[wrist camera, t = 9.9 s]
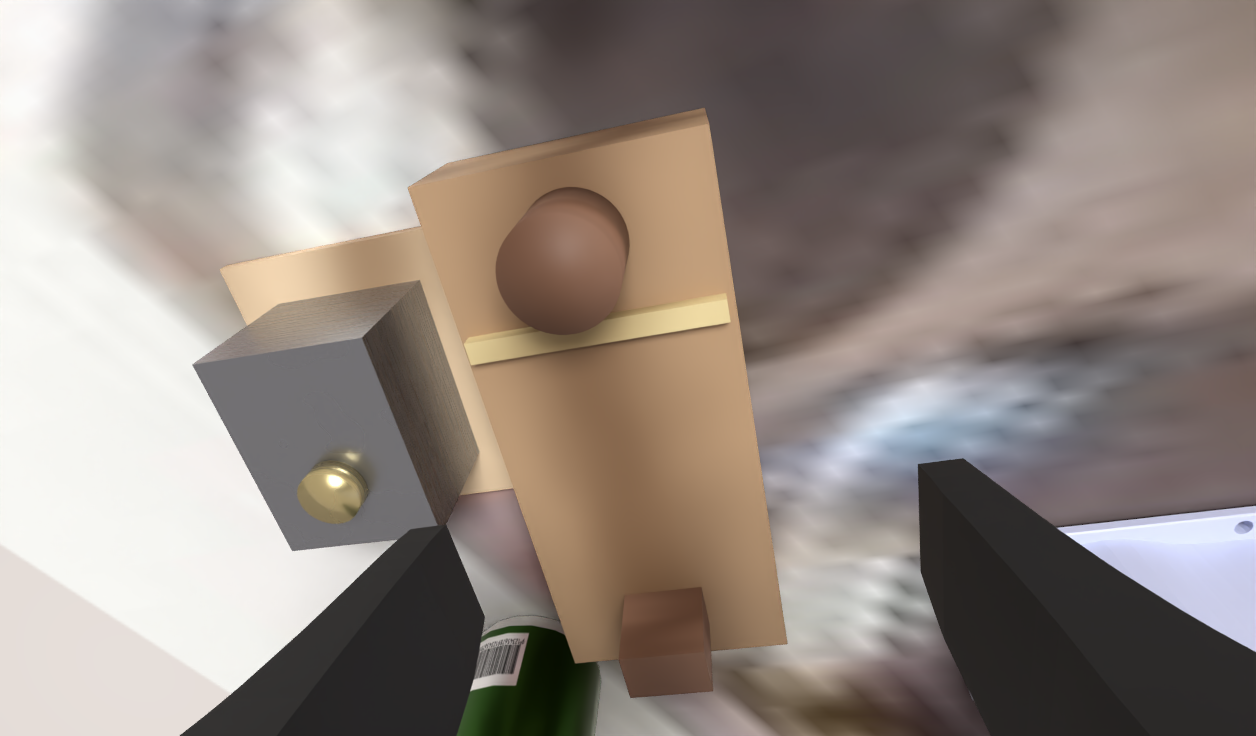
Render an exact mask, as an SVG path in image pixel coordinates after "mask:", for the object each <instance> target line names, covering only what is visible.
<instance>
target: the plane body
mask: <svg viewBox="0 0 1256 736" xmlns="http://www.w3.org/2000/svg"><path fill="white" fill-rule="evenodd" d="M408 190H409V193H410V196H411V199H412V202H413V205H414V207H415V210H416V213H417V216H418V219H419V222H420V224H421V227H422V230H423V233H424V236H425V239H426V241H427V244H428V247H429V250H430V253H431V256H432V258H433V261H434V264H435V267H436V270H437V273H438V276H439V278H440V281H441V284H442V287H443V290H444V293H445V295H446V298H447V301H448V304H449V307H450V310H451V312H452V315H453V318H454V321H455V324H456V327H457V329H458V332H459V335H460V338H461V341H462V344H463V346H464V349H465V352H466V355H467V358H468V361H469V363H470V366H471V369H472V372H473V375H474V378H475V380H476V383H477V386H478V389H479V392H480V395H481V397H482V400H483V403H484V406H485V409H486V412H487V415H488V417H489V420H490V423H491V426H492V429H493V432H494V434H495V437H496V440H497V443H498V446H499V449H500V451H501V454H502V457H503V460H504V463H505V466H506V468H507V471H508V474H509V477H510V480H511V483H512V485H513V488H514V491H515V494H516V497H517V500H518V502H519V505H520V508H521V511H522V514H523V517H524V519H525V522H526V525H527V528H528V531H529V534H530V537H531V539H532V542H533V545H534V548H535V551H536V554H537V556H538V559H539V562H540V565H541V568H542V571H543V573H544V576H545V579H546V582H547V585H548V588H549V590H550V593H551V596H552V599H553V602H554V605H555V607H556V610H557V613H558V616H559V619H560V622H561V624H562V627H563V630H564V633H565V636H566V639H567V641H568V644H569V647H570V650H571V653H572V656H573V659H574V661H575V663H585V662H596V661H607V660H618V659H619V663H620V666H621V669H622V672H623V676H624V679H625V682H626V685H627V689H628V692H629V695H630V698H636V697H648V696H661V695H673V694H685V693H697V692H710V691H713V681H712V661H711V651H717V650H728V649H739V648H750V647H761V646H772V645H783V644H787V637H786V631H785V624H784V617H783V611H782V604H781V598H780V591H779V584H778V578H777V571H776V564H775V558H774V551H773V545H772V538H771V531H770V525H769V518H768V511H767V505H766V498H765V491H764V485H763V478H762V472H761V465H760V458H759V452H758V445H757V438H756V432H755V425H754V419H753V412H752V405H751V399H750V392H749V385H748V379H747V372H746V365H745V359H744V352H743V346H742V339H741V332H740V326H739V319H738V312H737V306H736V299H735V293H734V286H733V279H732V273H731V266H730V259H729V253H728V246H727V240H726V233H725V226H724V220H723V213H722V206H721V200H720V193H719V186H718V180H717V173H716V167H715V160H714V153H713V147H712V140H711V133H710V127H709V122H708V118H707V115H706V111H705V108H701V109H696V110H692V111H687V112H683V113H678V114H673V115H669V116H664V117H659V118H655V119H650V120H646V121H641V122H636V123H632V124H627V125H622V126H618V127H613V128H609V129H604V130H599V131H595V132H590V133H585V134H581V135H576V136H571V137H567V138H562V139H558V140H553V141H548V142H544V143H539V144H534V145H530V146H525V147H521V148H516V149H511V150H507V151H502V152H497V153H493V154H488V155H484V156H479V157H474V158H470V159H465V160H460V161H456V162H451V163H447V164H445V165H444V166H442V167H440V168H439V169H437V170H436V171H434V172H432V173H431V174H429V175H427V176H426V177H424V178H422V179H421V180H419V181H418V182H416V183H414V184H413V185H411V186H409V187H408Z"/></svg>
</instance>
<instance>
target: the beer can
mask: <svg viewBox="0 0 1256 736" xmlns="http://www.w3.org/2000/svg"><path fill="white" fill-rule="evenodd" d="M600 688H601V676H600V670H599V665H598V663H597V661H596V662H585V663H575V661H574V659H573V656H572V653H571V650H570V647H569V644H568V641H567V639H566V636H565V633H564V630H563V627H562V624H561V622H559V621H557V620H555V619H550V618H545V617H540V616H515V617H512V618H508V619H504V620H501V621H499V622H497V623H496V624H494V625H493V626H491V627H490V628H488V629H487V630H486V631H485V632H484V633H483V634H482V638H481V644H480V650H479V655H478V660H477V665H476V670H475V675H474V680H473V684H472V687H471V690H470V694H469V697H468V700H467V704H466V707H465V710H464V713H463V717H462V720H461V723H460V726H459V729H458V733H457V736H595V731H596V722H597V714H598V705H599V697H600Z"/></svg>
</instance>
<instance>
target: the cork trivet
mask: <svg viewBox="0 0 1256 736" xmlns="http://www.w3.org/2000/svg"><path fill="white" fill-rule="evenodd" d="M220 272H221V274H222V276H223V278H224V280H225V282H226V284H227V286H228V288H229V290H230V292H231V294H232V296H233V298H234V300H235V302H236V304H237V306H238V308H239V310H240V312H241V314H242V316H243V318H244V320H245V322H246V324H247V326H248V325H249V324H251V323H252V322H253V321H255V320H256V319H258V318H259V317H261V316H262V315H263V314H265V313H266V312H268V311H269V310H270V309H272V308H273V307H275V306H276V305H278V304H281V303H287V302H293V301H298V300H304V299H310V298H316V297H322V296H328V295H334V294H340V293H346V292H351V291H357V290H363V289H369V288H375V287H381V286H387V285H393V284H398V283H404V282H410V281H416V280H420V282H421V285H422V288H423V291H424V293H425V296H426V299H427V302H428V305H429V308H430V311H431V314H432V316H433V319H434V322H435V325H436V328H437V331H438V334H439V337H440V340H441V342H442V345H443V348H444V351H445V354H446V357H447V360H448V363H449V365H450V368H451V371H452V374H453V377H454V380H455V383H456V386H457V388H458V391H459V394H460V397H461V400H462V403H463V406H464V409H465V411H466V414H467V417H468V420H469V423H470V426H471V429H472V432H473V434H474V437H475V440H476V443H477V446H478V449H479V454H478V456H477V459H476V461H475V463H474V465H473V467H472V469H471V471H470V474H469V476H468V478H467V480H466V482H465V484H464V487H463V489H462V491H461V493H460V495H467V494H474V493H482V492H489V491H497V490H504V489H511V488H513V485H512V483H511V480H510V477H509V474H508V471H507V468H506V466H505V463H504V460H503V457H502V454H501V451H500V449H499V446H498V443H497V440H496V437H495V434H494V432H493V429H492V426H491V423H490V420H489V417H488V415H487V412H486V409H485V406H484V403H483V400H482V397H481V395H480V392H479V389H478V386H477V383H476V380H475V378H474V375H473V372H472V369H471V366H470V363H469V361H468V358H467V355H466V352H465V349H464V346H463V344H462V341H461V338H460V335H459V332H458V329H457V327H456V324H455V321H454V318H453V315H452V312H451V310H450V307H449V304H448V301H447V298H446V295H445V293H444V290H443V287H442V284H441V281H440V278H439V276H438V273H437V270H436V267H435V264H434V261H433V258H432V256H431V253H430V250H429V247H428V244H427V241H426V239H425V236H424V233H423V230H422V227H421V226H419V227H414V228H409V229H404V230H400V231H395V232H390V233H385V234H380V235H375V236H370V237H365V238H360V239H355V240H350V241H345V242H340V243H335V244H330V245H325V246H320V247H315V248H310V249H305V250H300V251H296V252H291V253H286V254H281V255H276V256H271V257H266V258H261V259H256V260H251V261H246V262H241V263H236V264H231V265H227V266H225V267H223V268H222V269H220Z"/></svg>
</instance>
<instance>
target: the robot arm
mask: <svg viewBox="0 0 1256 736" xmlns="http://www.w3.org/2000/svg"><path fill="white" fill-rule="evenodd" d="M918 485H919V523H920V561H921V574H922V577H923V580H924V583H925V586H926V589H927V592H928V595H929V597H930V600H931V603H932V606H933V609H934V612H935V615H936V618H937V620H938V623H939V626H940V629H941V631H942V634H943V637H944V639H945V642H946V644H947V646H948V648H949V650H950V652H951V654H952V656H953V658H954V661H955V663H956V665H957V667H958V669H959V671H960V673H961V675H962V677H963V679H964V681H965V683H966V685H967V688H968V690H969V693H970V695H971V698H972V699H973V700H974V702H975V704H976V706H977V708H978V710H979V712H980V714H981V716H982V718H983V720H984V722H985V724H986V727H987V729H988V731H989V733H990V735H991V736H1256V506H1250V507H1241V508H1232V509H1223V510H1214V511H1205V512H1196V513H1186V514H1177V515H1168V516H1159V517H1150V518H1141V519H1132V520H1123V521H1114V522H1105V523H1096V524H1087V525H1078V526H1069V527H1060V528H1056V527H1055V526H1053V525H1052V524H1051V523H1049V522H1048V521H1047V520H1045V519H1044V518H1042V517H1041V516H1040V515H1038V514H1037V513H1036V512H1034V511H1033V510H1032V509H1030V508H1029V507H1027V506H1026V505H1025V504H1023V503H1022V502H1021V501H1019V500H1018V499H1017V498H1015V497H1014V496H1013V495H1011V494H1010V493H1009V492H1007V491H1006V490H1005V489H1003V488H1002V487H1001V486H999V485H998V484H997V483H995V482H994V481H993V480H991V479H990V478H989V477H987V476H986V475H985V474H983V473H982V472H981V471H979V470H978V469H977V468H975V467H974V466H973V465H971V464H970V463H969V462H967V461H966V460H965V459H963V458H962V459H955V460H947V461H939V462H931V463H923V464H918ZM1240 522H1241V523H1240ZM484 619H485V616H484V614H483V612H482V609H481V607H480V604H479V602H478V600H477V597H476V595H475V592H474V590H473V588H472V585H471V583H470V581H469V578H468V576H467V573H466V571H465V569H464V566H463V564H462V561H461V559H460V557H459V554H458V552H457V550H456V547H455V545H454V542H453V540H452V538H451V535H450V533H449V530H448V528H447V526H446V525H438V526H430V527H422V528H415V529H410V530H409V531H408V532H407V533H405V534H404V535H403V536H402V537H401V538H399V539H398V540H397V541H396V542H395V543H394V544H393V545H392V546H391V547H390V548H388V549H387V550H386V551H385V552H384V553H383V554H382V555H381V556H380V557H379V558H378V559H377V560H376V561H375V562H374V563H373V564H372V565H371V566H370V567H368V568H367V569H366V570H365V571H364V572H363V573H362V574H361V575H360V576H359V577H358V578H357V579H356V580H355V581H354V582H353V583H352V584H351V585H350V586H349V587H348V588H347V589H346V590H345V591H344V592H343V593H342V594H340V595H339V596H338V597H337V598H336V599H335V600H334V601H333V602H332V603H331V604H330V605H329V606H328V607H327V608H326V609H325V610H324V611H323V612H322V613H321V614H320V615H319V616H317V617H316V618H315V619H314V620H313V621H312V622H311V623H310V624H309V625H308V626H307V627H306V628H305V629H304V630H303V631H302V632H301V633H299V634H298V635H297V636H296V637H295V638H294V639H293V640H292V641H291V642H289V643H288V644H287V645H286V646H285V647H284V648H283V649H282V650H280V651H279V652H278V653H277V654H276V655H275V656H274V657H273V658H272V659H270V660H269V661H268V662H267V663H266V664H265V665H264V666H263V667H262V668H260V669H259V670H258V671H257V672H256V673H255V674H254V675H253V676H251V677H250V678H249V679H248V680H247V681H246V682H245V683H244V684H243V685H241V686H240V687H239V688H238V689H237V690H236V691H234V692H233V693H232V694H231V695H230V696H228V697H227V698H226V699H225V700H224V701H222V702H221V703H220V704H219V705H218V706H216V707H215V708H214V709H213V710H211V711H210V712H209V713H208V714H207V715H205V716H204V717H203V718H202V719H200V720H199V721H198V722H197V723H195V724H194V725H193V726H191V727H190V728H189V729H188V730H186V731H185V732H184V733H183V734H181V735H180V736H457V733H458V729H459V726H460V723H461V720H462V717H463V713H464V710H465V707H466V704H467V700H468V697H469V694H470V690H471V687H472V684H473V680H474V675H475V670H476V665H477V660H478V655H479V650H480V644H481V638H482V631H483V625H484Z"/></svg>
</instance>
